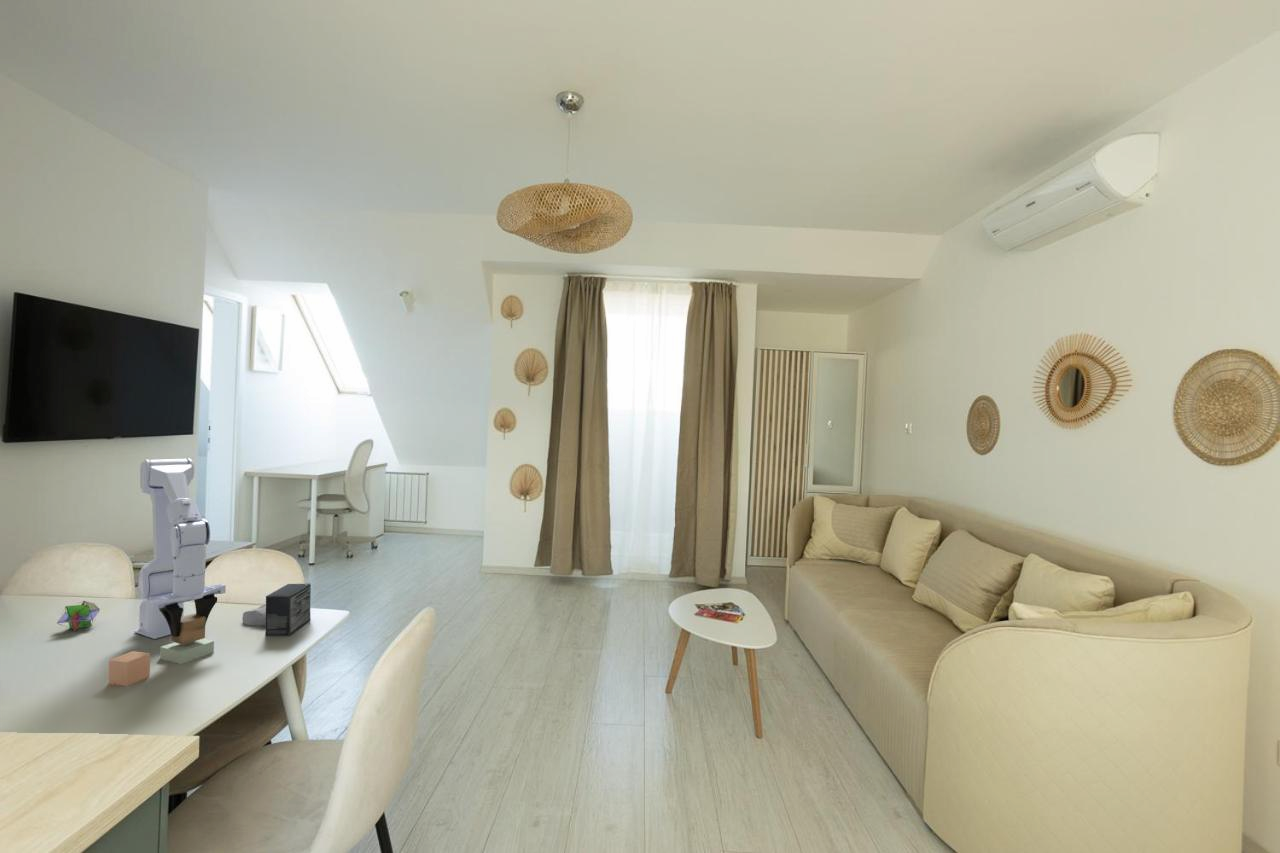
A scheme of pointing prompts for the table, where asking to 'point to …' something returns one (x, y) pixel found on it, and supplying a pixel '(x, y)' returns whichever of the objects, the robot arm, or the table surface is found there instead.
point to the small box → (287, 609)
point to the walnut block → (190, 629)
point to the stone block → (255, 616)
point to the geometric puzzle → (79, 615)
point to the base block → (186, 651)
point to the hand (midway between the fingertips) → (187, 632)
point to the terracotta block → (129, 668)
